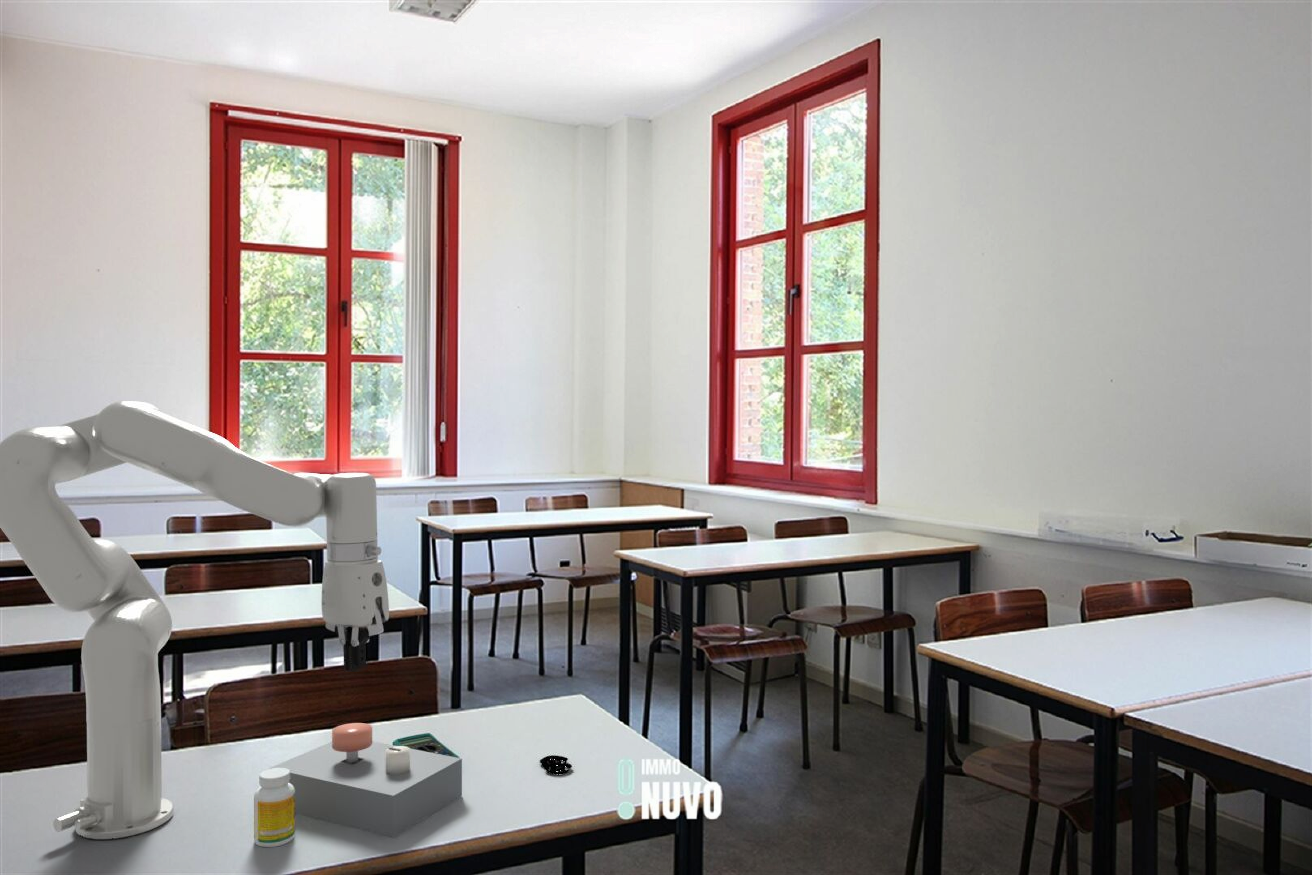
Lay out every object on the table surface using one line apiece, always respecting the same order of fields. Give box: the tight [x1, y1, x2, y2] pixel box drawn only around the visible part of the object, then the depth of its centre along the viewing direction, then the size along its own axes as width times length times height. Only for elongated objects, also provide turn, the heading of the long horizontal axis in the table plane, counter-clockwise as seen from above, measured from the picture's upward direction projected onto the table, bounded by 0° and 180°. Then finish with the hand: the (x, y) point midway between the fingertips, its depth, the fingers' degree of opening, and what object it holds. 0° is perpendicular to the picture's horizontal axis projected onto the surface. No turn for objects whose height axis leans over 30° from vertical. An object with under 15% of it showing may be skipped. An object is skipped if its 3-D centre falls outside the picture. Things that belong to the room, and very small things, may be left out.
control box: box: [269, 740, 463, 838], centre depth 147 cm, size 16×24×6 cm, turn 65°
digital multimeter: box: [392, 732, 461, 758], centre depth 164 cm, size 7×15×3 cm, turn 34°
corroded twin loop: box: [539, 754, 573, 776], centre depth 161 cm, size 5×8×1 cm, turn 20°
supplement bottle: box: [253, 768, 296, 848], centre depth 133 cm, size 5×5×10 cm
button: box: [331, 722, 373, 764], centre depth 148 cm, size 6×6×5 cm
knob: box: [386, 746, 410, 774], centre depth 144 cm, size 4×4×3 cm
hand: (355, 668), depth 148 cm, fingers closed
